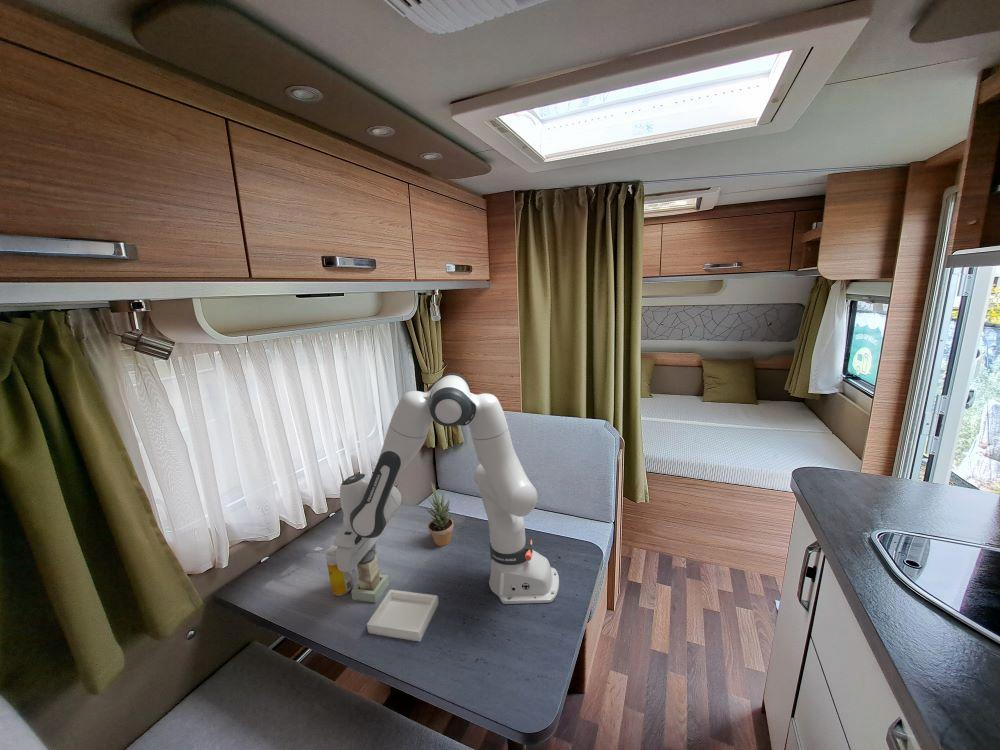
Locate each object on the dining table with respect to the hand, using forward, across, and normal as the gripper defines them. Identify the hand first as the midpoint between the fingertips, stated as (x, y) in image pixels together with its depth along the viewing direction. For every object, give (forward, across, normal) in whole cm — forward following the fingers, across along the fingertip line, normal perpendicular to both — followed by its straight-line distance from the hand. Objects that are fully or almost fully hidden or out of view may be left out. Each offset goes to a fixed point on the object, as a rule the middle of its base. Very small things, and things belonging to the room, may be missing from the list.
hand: (365, 564), depth 120 cm
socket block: (+10, -1, 0) cm, 10 cm away
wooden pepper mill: (+10, -1, 0) cm, 10 cm away
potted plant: (+10, -28, +14) cm, 33 cm away
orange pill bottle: (+11, 0, -10) cm, 14 cm away
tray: (+10, +8, +16) cm, 21 cm away
